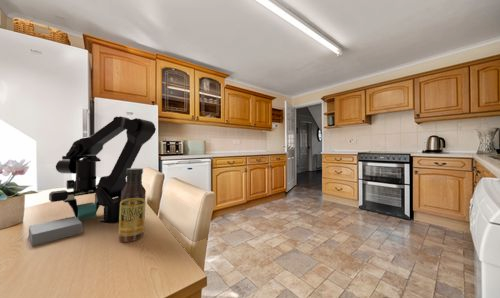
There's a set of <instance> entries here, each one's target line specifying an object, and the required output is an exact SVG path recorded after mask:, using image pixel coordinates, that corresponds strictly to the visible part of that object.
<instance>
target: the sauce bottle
mask: <svg viewBox="0 0 500 298" xmlns="http://www.w3.org/2000/svg"><path fill="white" fill-rule="evenodd" d="M126 174H127V176H126V185H125V187H124V189H123V190H122V192H121V202H120V216H119V221H118V241H120V242H122V243H129V242H134V241H137V240H140V239H142V238H143V236H144V233H145V223H146V222H145V220H146V195H147V193H146V192H147V191H146V188H145V187H144V186H143V181H142V179H143V178H142V177H143V176H142V175H143V168H140V167H138V168H137V167H134V168H132V167H131V168H130V169H126Z"/></svg>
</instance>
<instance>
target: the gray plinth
mask: <svg viewBox="0 0 500 298" xmlns="http://www.w3.org/2000/svg"><path fill="white" fill-rule="evenodd" d="M82 233H83V222H82V221H79V220H78V219H77V218H76V217H75V215H74V216H69V217H64V218H60V219H56V220H51V221H46V222H42V223H36V224H32V225H29V226H28V238H29V241H30V244H31V246H32V247H34V246H37V245H41V244H45V243H50V242H53V241H57V240H60V239H63V238H67V237H68V238H69V237H71V236H76V235H80V234H82Z"/></svg>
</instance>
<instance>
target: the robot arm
mask: <svg viewBox="0 0 500 298" xmlns="http://www.w3.org/2000/svg"><path fill="white" fill-rule="evenodd" d="M125 130H126V131H125ZM156 130H157V129H156V125H155V124H154V123H153V122H152V121H150V120H147V119H142V118H133V119H131V118H128V117H125V116H119V115H118V116H114V117H113V118H112V120H111V121H109V122H108V123H107V124H105V125H104V126H102V127H101V128H100V129H99V130H97V131H96V132H94V133H93V134H91V135H89V136H86V137H85V136H84V137H81V138H80V139H78V140H75V141H73V142H72V145H71V147H70V148H69V150H68V152H66V155H62V157H61V159H60V160H58V161H57V162H56V165H55V169H56V172H58V173H60V174H75V180H74V179H67V180H66V185H65V186H66V189H65V190H64V189H63V190H55V191H50V192H49V194H48V201H50V202H51V203H55V202H56V203H57V202H63V203H68V205H69V206H70V208H71V211H72V212H73V215H74V216H75V217H77V216H78V211H77V205H78V204H77V201H78V200H77V199H76V198H75V197H79V196H85V195H93V194H94V203H95V204H96V213H97V212H98V210H99V208H100V206H101V207H103V218H102V219H100V222H99V223H113V224H114V223H115V224H116V223H119V216H120V202H121V192H122V190H123V189H124V187H125V185H126V182H127V174H126V169H130V168H132V167H133V165H134V163H135V161H136V158H137V157H138V154H139V152H140V151H141V149H142V146H143V145H144V144H146V143H148V141H149V140H151V139H152V137H153V136H154V134H155V133H156ZM124 131H125V133H126V140H127V141H125V144H124V146H123V148H122V150H121V152H120V154H119V156H118V158H117V160H116V162H115V164H114V166H113V168H112V170H111V172H110V173H109V175H105V176H101V177H100V178H99V180H98V183H97V162H101V161H102V159H100V157H97V155H98V154H100V152H101V151H102V150H103V149H104V145H106V144H107V143H108V142H109V141H111V140H112V139H114V138H115V137H117V136H118V135H120V134H121V133H122V132H124ZM68 190H72V191H68Z"/></svg>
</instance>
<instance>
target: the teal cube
mask: <svg viewBox="0 0 500 298" xmlns="http://www.w3.org/2000/svg"><path fill="white" fill-rule="evenodd" d="M77 211H78V216H77V217H76V218H77V219H78V220H79V221H81V222H82V221H86V220H91V219H95V218H97V212H96V204H95V202H93V201H91V202H87V203H81V204H77ZM90 218H91V219H90Z"/></svg>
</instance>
